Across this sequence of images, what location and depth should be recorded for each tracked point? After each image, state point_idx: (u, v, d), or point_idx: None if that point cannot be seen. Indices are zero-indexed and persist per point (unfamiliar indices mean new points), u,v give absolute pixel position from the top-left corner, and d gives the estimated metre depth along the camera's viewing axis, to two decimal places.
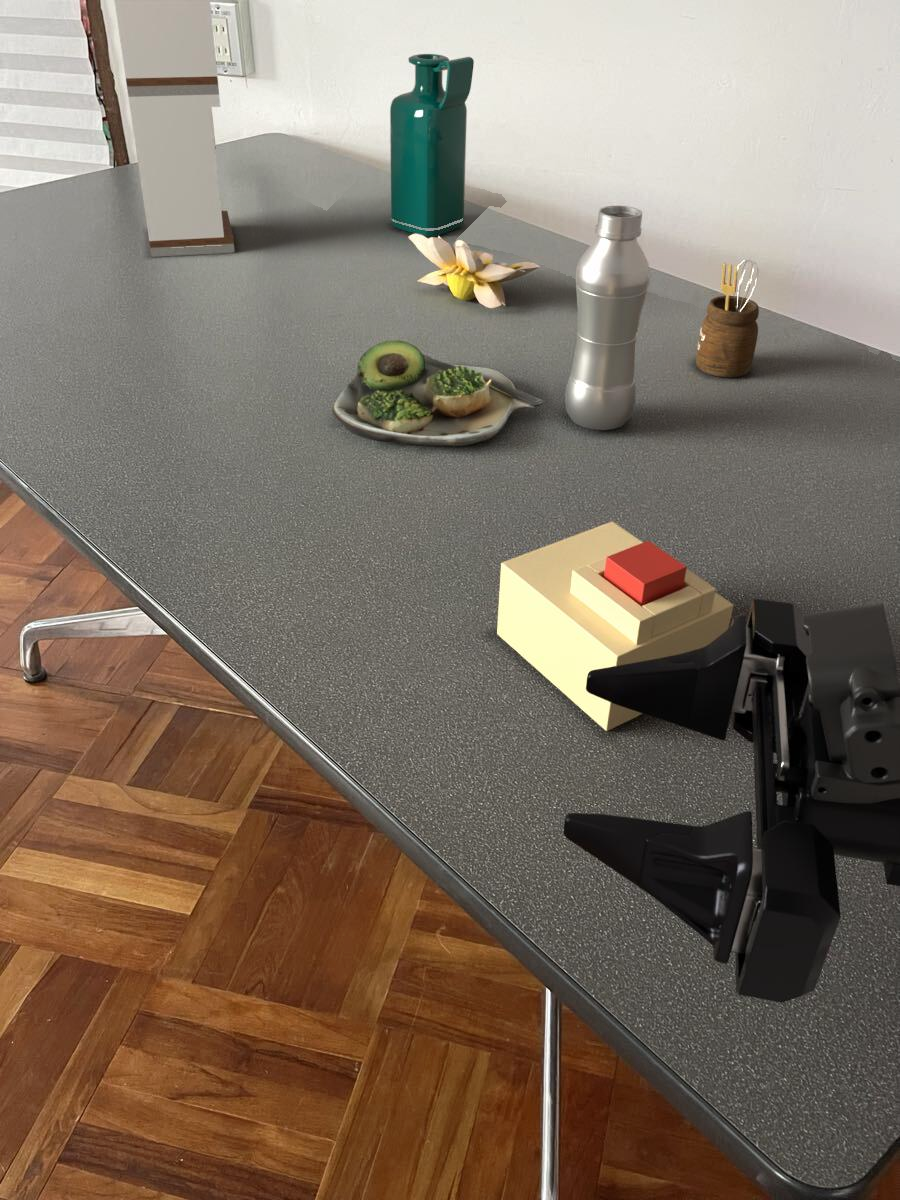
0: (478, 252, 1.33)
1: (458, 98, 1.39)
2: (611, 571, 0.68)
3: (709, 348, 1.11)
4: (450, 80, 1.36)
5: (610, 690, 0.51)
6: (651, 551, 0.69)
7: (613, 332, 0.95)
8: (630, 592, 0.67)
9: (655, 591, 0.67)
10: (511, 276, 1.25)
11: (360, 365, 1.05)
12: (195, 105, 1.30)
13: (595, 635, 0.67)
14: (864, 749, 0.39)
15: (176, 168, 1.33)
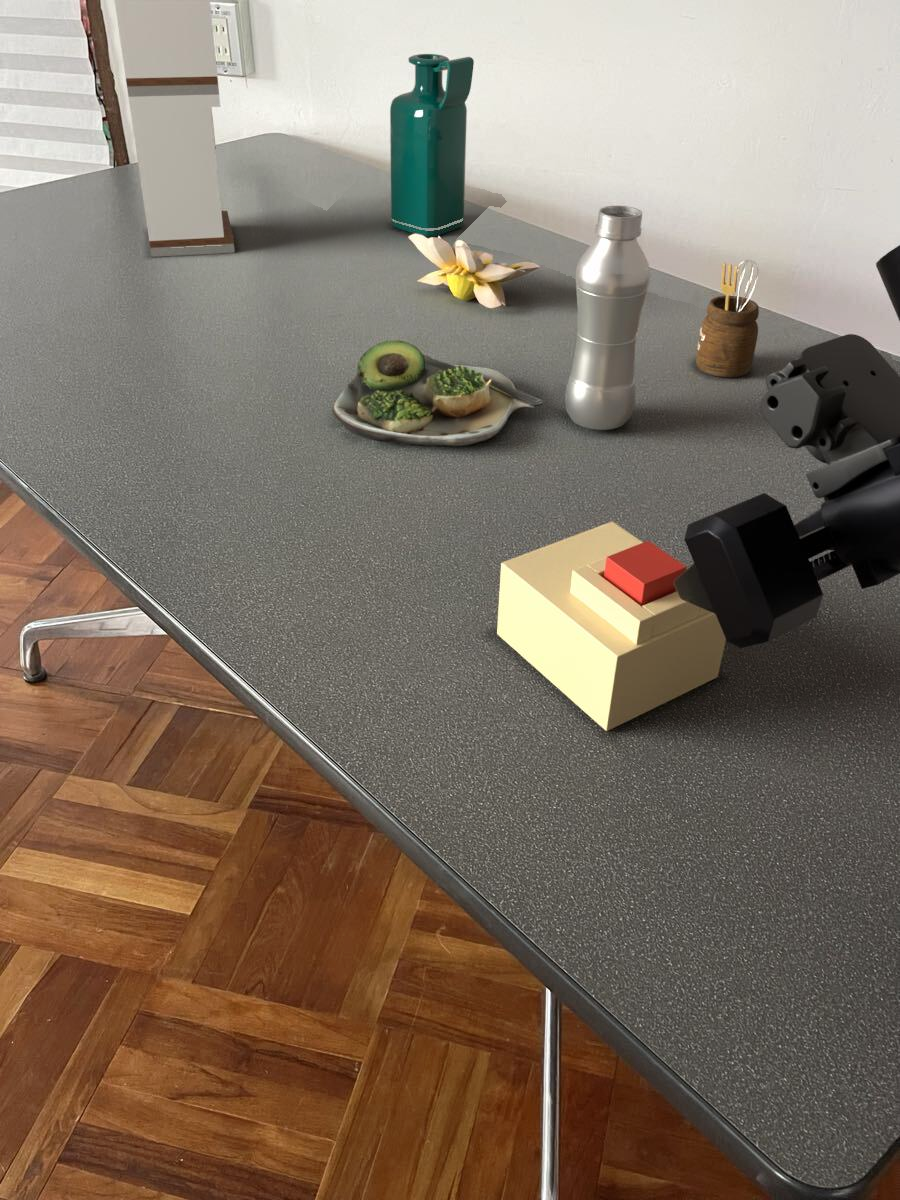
0: (478, 252, 1.33)
1: (458, 98, 1.39)
2: (611, 571, 0.68)
3: (709, 348, 1.11)
4: (450, 80, 1.36)
5: None
6: (651, 551, 0.69)
7: (613, 332, 0.95)
8: (630, 592, 0.67)
9: (655, 591, 0.67)
10: (511, 276, 1.25)
11: (360, 365, 1.05)
12: (195, 105, 1.30)
13: (595, 635, 0.67)
14: (775, 416, 0.49)
15: (176, 168, 1.33)
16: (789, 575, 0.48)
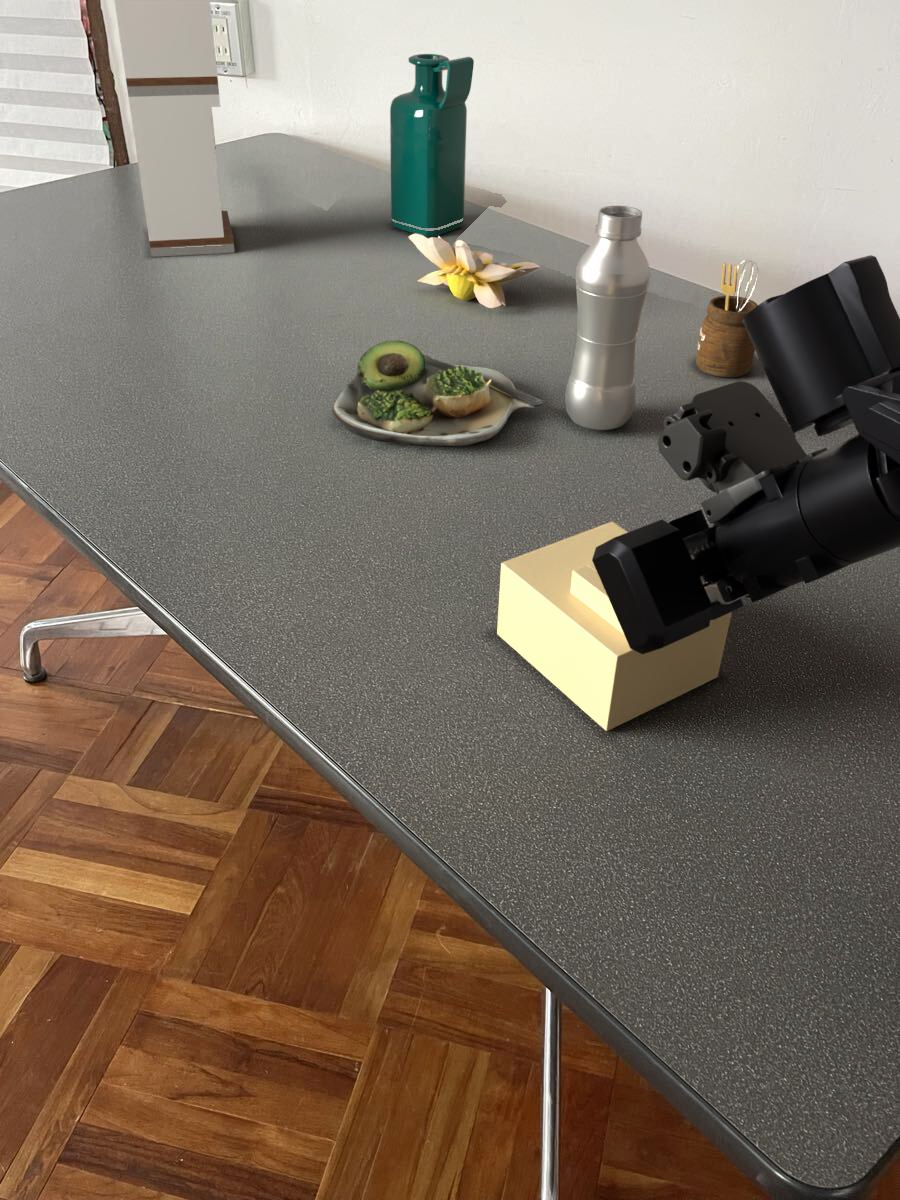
0: (478, 252, 1.33)
1: (458, 98, 1.39)
2: None
3: (709, 348, 1.11)
4: (450, 80, 1.36)
5: None
6: None
7: (613, 332, 0.95)
8: None
9: None
10: (511, 276, 1.25)
11: (360, 365, 1.05)
12: (195, 105, 1.30)
13: (595, 635, 0.67)
14: (669, 453, 0.56)
15: (176, 168, 1.33)
16: (681, 590, 0.55)
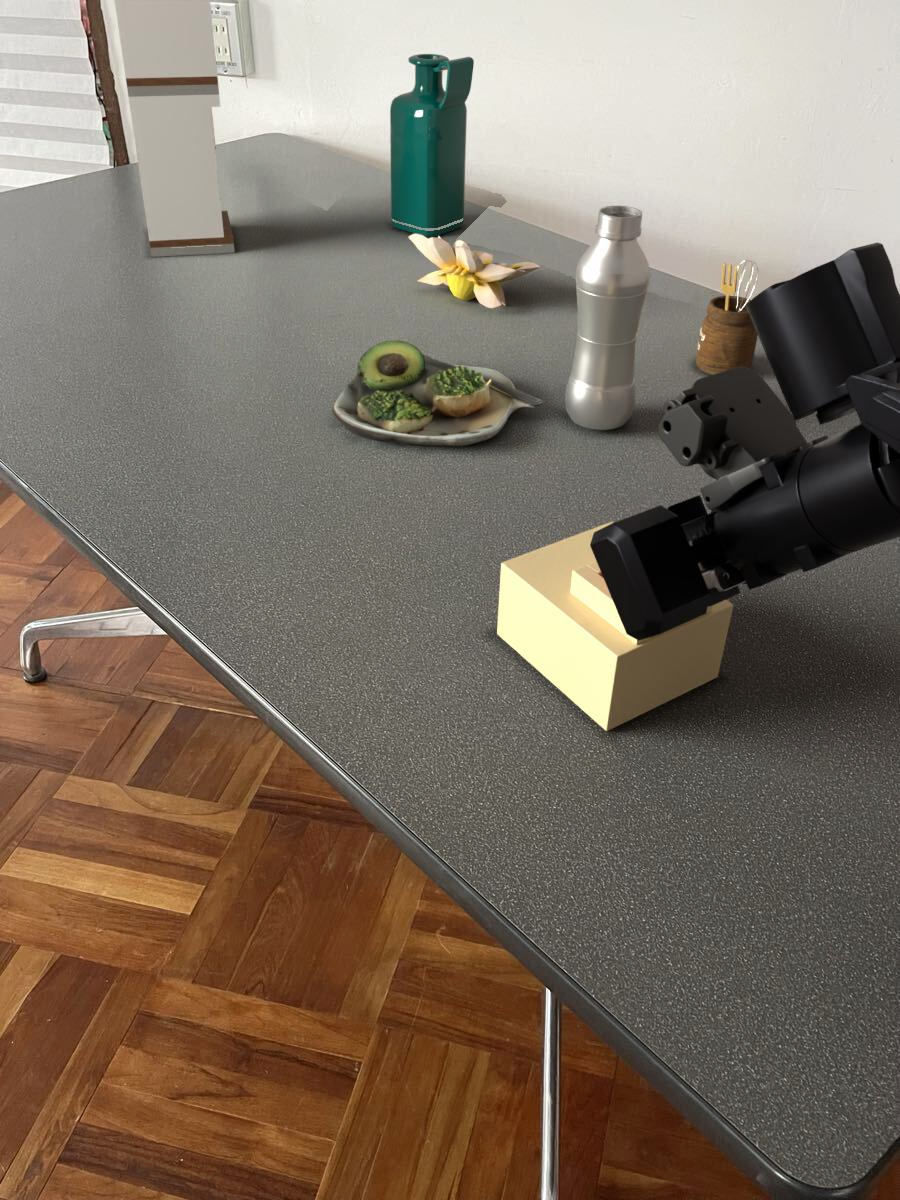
0: (478, 252, 1.33)
1: (458, 98, 1.39)
2: None
3: (709, 348, 1.11)
4: (450, 80, 1.36)
5: None
6: None
7: (613, 332, 0.95)
8: None
9: None
10: (511, 276, 1.25)
11: (360, 365, 1.05)
12: (195, 105, 1.30)
13: (595, 635, 0.67)
14: (669, 438, 0.56)
15: (176, 168, 1.33)
16: (678, 576, 0.55)
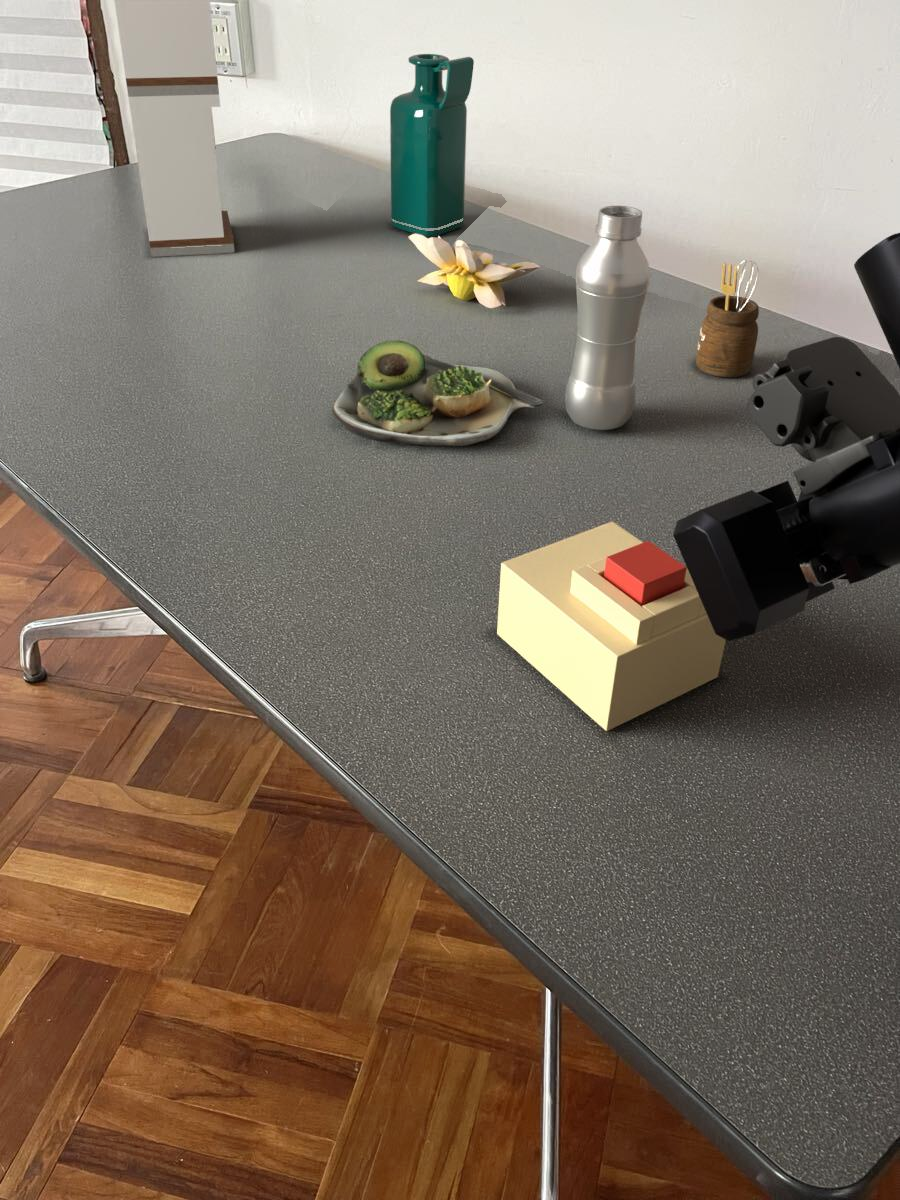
0: (478, 252, 1.33)
1: (458, 98, 1.39)
2: (611, 571, 0.68)
3: (709, 348, 1.11)
4: (450, 80, 1.36)
5: None
6: (651, 551, 0.69)
7: (613, 332, 0.95)
8: (630, 592, 0.67)
9: (655, 591, 0.67)
10: (511, 276, 1.25)
11: (360, 365, 1.05)
12: (195, 105, 1.30)
13: (595, 635, 0.67)
14: (761, 416, 0.50)
15: (176, 168, 1.33)
16: (775, 569, 0.49)
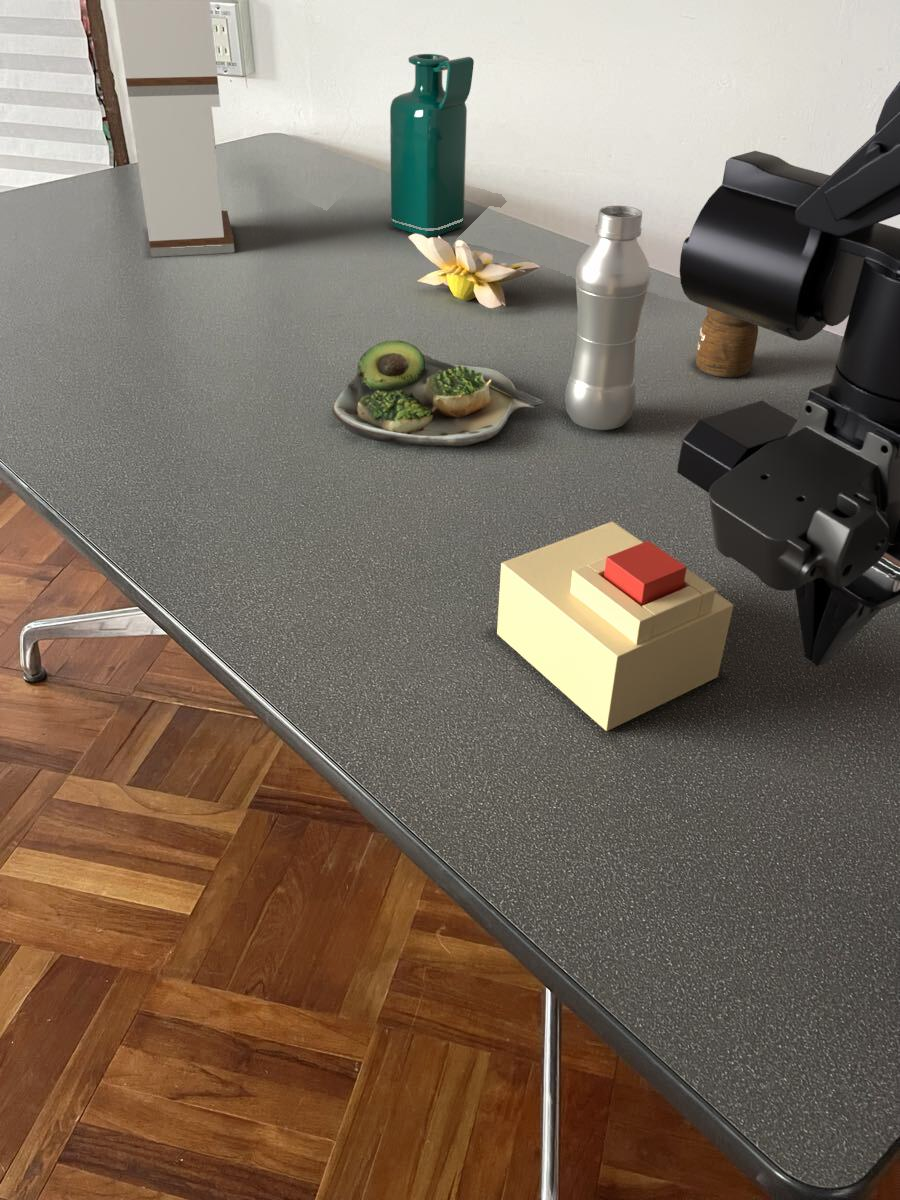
0: (478, 252, 1.33)
1: (458, 98, 1.39)
2: (611, 571, 0.68)
3: (709, 348, 1.11)
4: (450, 80, 1.36)
5: None
6: (651, 551, 0.69)
7: (613, 332, 0.95)
8: (630, 592, 0.67)
9: (655, 591, 0.67)
10: (511, 276, 1.25)
11: (360, 365, 1.05)
12: (195, 105, 1.30)
13: (595, 635, 0.67)
14: (857, 569, 0.42)
15: (176, 168, 1.33)
16: None
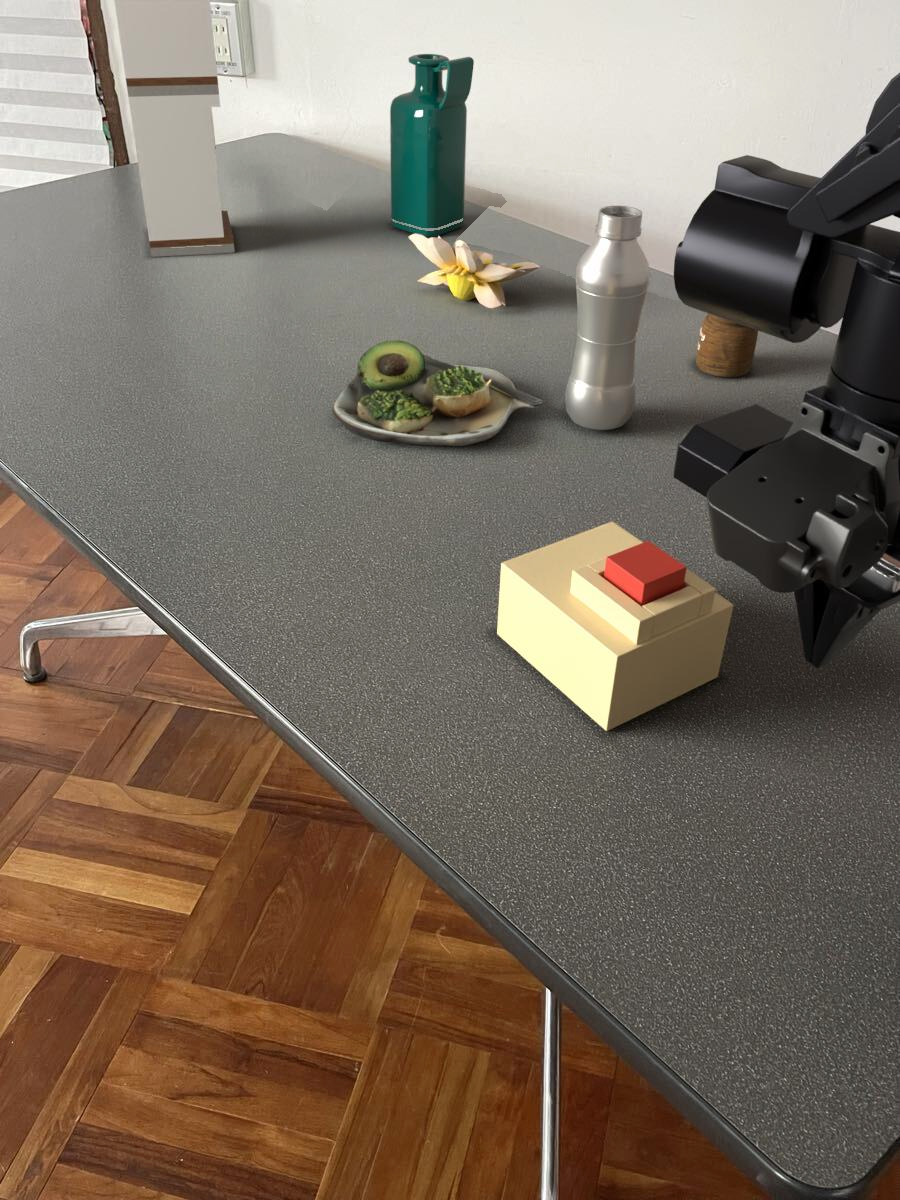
0: (478, 252, 1.33)
1: (458, 98, 1.39)
2: (611, 571, 0.68)
3: (709, 348, 1.11)
4: (450, 80, 1.36)
5: None
6: (651, 551, 0.69)
7: (613, 332, 0.95)
8: (630, 592, 0.67)
9: (655, 591, 0.67)
10: (511, 276, 1.25)
11: (360, 365, 1.05)
12: (195, 105, 1.30)
13: (595, 635, 0.67)
14: (857, 569, 0.42)
15: (176, 168, 1.33)
16: None
